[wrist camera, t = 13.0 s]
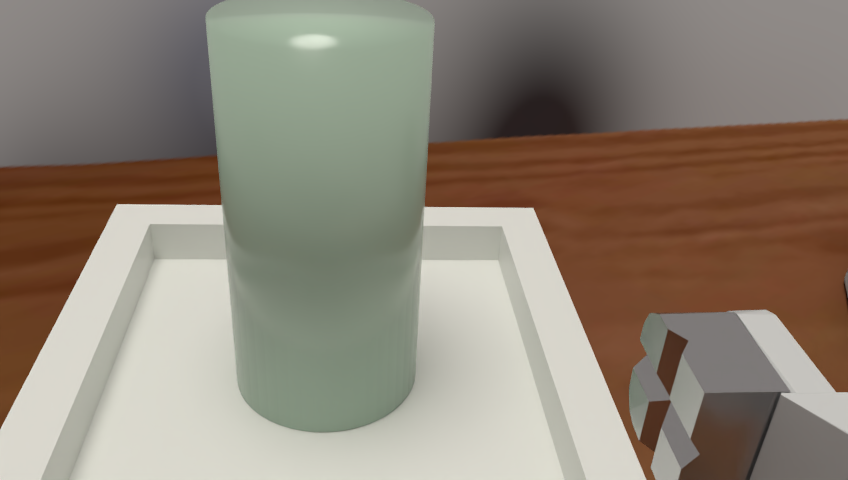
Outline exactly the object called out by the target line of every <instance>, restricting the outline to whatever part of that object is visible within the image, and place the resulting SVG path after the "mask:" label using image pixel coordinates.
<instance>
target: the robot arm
mask: <svg viewBox="0 0 848 480" xmlns="http://www.w3.org/2000/svg"><path fill="white" fill-rule="evenodd" d="M640 341H641V343H642V345H643V347H644V349H645V351H646V353H647V355H646V356H645V357H644V358H643V359H642V360H641V361H640V362H639V363H638V364H637V365H636V366H634V367H633V371H632V376H631V381H630V386H629V408H630V414H631V419H632V423H633V427H634V429H635V431H636V434H637V436H638V439H639V441H640V442H642V443H643V444H644V445H646V446H647V447H649V448H650V449H651V450H653V451H654V452H655V454H654V457H653V461H652V465H651V469H652V471H653V474H654V476H655V478H656V480H848V392H841V393H836V392H835V390H834V389H833V388H832V386H831V385H830V384H829V383H828V381H827V380H826V379H825V378H824V376H823V375H822V374H821V372H820V371H819V370H818V369H817V367H816V366H815V365H814V363H813V362H812V361H811V360H810V358H809V357H808V356H807V355H806V353H805V352H804V351H803V349H802V348H801V347H800V346H799V344H798V343H797V342H796V340H795V339H794V338H793V337H792V335H791V334H790V333H789V331H788V330H787V329H786V328H785V326H784V325H783V324H782V323H781V321H780V320H779V319H778V317H777V316H776V315H775V314H773V313H771V312H769V311H767V310H744V311H727V312H698V313H650V314H649V316H648V318H647V319H646V321H645V323H644V326H643V330H642V334H641V338H640Z"/></svg>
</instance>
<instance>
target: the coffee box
mask: <svg viewBox="0 0 848 480" xmlns="http://www.w3.org/2000/svg"><path fill="white" fill-rule="evenodd" d="M844 281H845V286H846V291H847V296H848V271H847V273H846V276H845V280H844Z"/></svg>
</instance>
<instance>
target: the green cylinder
mask: <svg viewBox="0 0 848 480" xmlns="http://www.w3.org/2000/svg"><path fill="white" fill-rule="evenodd" d="M434 23H435V22H434V18H433V16H432V15H431V14H430V13H429V12H428V11H427V10H425V9H423V8H422V7H420V6H418V5H415V4H413V3H410V2H407V1H404V0H227V1H224V2H221V3H219V4H217V5H215V6H213V7H212V8H211V9H210V10H209V11H208V12H207V14H206V28H207V40H208V52H209V63H210V75H211V85H212V97H213V109H214V121H215V131H216V144H217V155H218V167H219V178H220V190H221V201H222V213H223V224H224V236H225V247H226V259H227V270H228V282H229V293H230V305H231V316H232V328H233V339H234V351H235V362H236V374H237V383H238V388H239V391H240V393H241V396H242V397H243V399H244V400H245V402H246V403H247V404H248V405H249V406H250V407H251V408H252V409H253V410H254V411H255V412H256V413H258V414H259V415H260V416H262V417H264V418H266V419H267V420H269V421H271V422H274V423H276V424H278V425H281V426H284V427H287V428H291V429H296V430H301V431H310V432H335V431H344V430H349V429H354V428H358V427H361V426H365V425H367V424H370V423H372V422H375V421H377V420H379V419H381V418H383V417H385V416H387V415H388V414H389V413H391V412H392V411H394V410H395V409H396V408H397V407H398V406H399V405H401V404H402V403H403V401H404V400H405V399H406V398H407V397H408V395H409V393H410V391H411V390H412V387H413V384H414V381H415V374H416V356H417V338H418V319H419V301H420V282H421V264H422V245H423V227H424V208H425V190H426V171H427V153H428V134H429V116H430V97H431V79H432V60H433V41H434Z"/></svg>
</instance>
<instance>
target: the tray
mask: <svg viewBox="0 0 848 480" xmlns="http://www.w3.org/2000/svg"><path fill="white" fill-rule="evenodd" d="M0 480H646V478H645V476H644V473H643V471H642V468H641V466H640V464H639V461H638V459H637V456H636V454H635V452H634V449H633V447H632V444H631V442H630V440H629V437H628V435H627V432H626V430H625V428H624V425H623V423H622V420H621V418H620V416H619V413H618V411H617V408H616V406H615V404H614V401H613V399H612V396H611V394H610V392H609V389H608V387H607V384H606V382H605V380H604V377H603V375H602V372H601V370H600V368H599V365H598V363H597V360H596V358H595V356H594V353H593V351H592V348H591V346H590V343H589V341H588V339H587V336H586V334H585V331H584V329H583V327H582V324H581V322H580V319H579V317H578V315H577V312H576V310H575V307H574V305H573V303H572V300H571V298H570V295H569V293H568V291H567V288H566V286H565V283H564V281H563V279H562V276H561V274H560V271H559V269H558V267H557V264H556V262H555V259H554V257H553V255H552V252H551V250H550V247H549V245H548V243H547V240H546V238H545V235H544V233H543V231H542V228H541V226H540V223H539V221H538V218H537V216H536V214H535V211H534V209H533V208H467V207H425V208H424V227H423V245H422V264H421V282H420V301H419V319H418V338H417V356H416V374H415V381H414V384H413V387H412V390H411V391H410V393H409V395H408V397H407V398H406V399H405V400H404V401H403V403H402V404H401V405H399V406H398V407H397V408H396V409H395V410H394V411H392V412H391V413H389V414H388V415H387V416H385V417H383V418H381V419H379V420H377V421H375V422H372V423H370V424H367V425H365V426H361V427H358V428H354V429H349V430H344V431H335V432H310V431H301V430H296V429H291V428H287V427H284V426H281V425H278V424H276V423H274V422H271V421H269V420H267V419H266V418H264V417H262V416H260V415H259V414H258V413H256V412H255V411H254V410H253V409H252V408H251V407H250V406H249V405H248V404H247V403H246V402H245V400H244V399H243V397H242V396H241V393H240V391H239V388H238V383H237V374H236V362H235V351H234V339H233V328H232V316H231V305H230V293H229V282H228V270H227V259H226V247H225V236H224V224H223V213H222V205H131V204H117V206H116V207H115V209H114V211H113V213H112V215H111V217H110V219H109V221H108V223H107V225H106V227H105V229H104V231H103V233H102V234H101V236H100V238H99V240H98V242H97V244H96V246H95V248H94V250H93V252H92V254H91V256H90V258H89V260H88V261H87V263H86V265H85V267H84V269H83V271H82V273H81V275H80V277H79V279H78V281H77V283H76V285H75V286H74V288H73V290H72V292H71V294H70V296H69V298H68V300H67V302H66V304H65V306H64V308H63V310H62V312H61V313H60V315H59V317H58V319H57V321H56V323H55V325H54V327H53V329H52V331H51V333H50V335H49V337H48V339H47V340H46V342H45V344H44V346H43V348H42V350H41V352H40V354H39V356H38V358H37V360H36V362H35V364H34V366H33V367H32V369H31V371H30V373H29V375H28V377H27V379H26V381H25V383H24V385H23V387H22V389H21V391H20V393H19V394H18V396H17V398H16V400H15V402H14V404H13V406H12V408H11V410H10V412H9V414H8V416H7V418H6V420H5V421H4V423H3V425H2V427H1V429H0Z"/></svg>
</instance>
